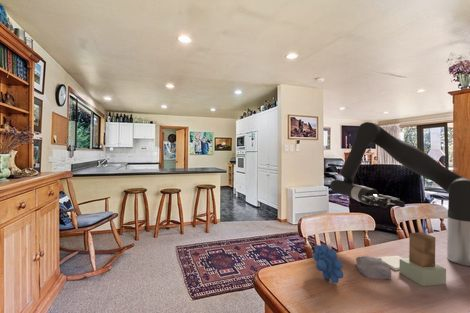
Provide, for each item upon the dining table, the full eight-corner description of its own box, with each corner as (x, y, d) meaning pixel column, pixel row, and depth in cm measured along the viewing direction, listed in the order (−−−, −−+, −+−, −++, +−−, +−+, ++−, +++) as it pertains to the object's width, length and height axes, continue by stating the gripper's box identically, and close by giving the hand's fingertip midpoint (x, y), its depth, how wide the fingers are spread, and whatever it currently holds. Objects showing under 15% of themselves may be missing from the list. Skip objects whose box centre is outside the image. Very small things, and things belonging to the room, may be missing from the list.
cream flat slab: (397, 257, 98) (397, 255, 98) (418, 268, 89) (418, 265, 89) (376, 259, 96) (376, 257, 96) (394, 270, 87) (394, 267, 87)
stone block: (363, 283, 82) (395, 280, 80) (360, 269, 83) (391, 266, 81) (354, 268, 94) (381, 265, 92) (351, 256, 94) (378, 253, 92)
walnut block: (421, 259, 85) (421, 232, 85) (435, 266, 80) (435, 237, 80) (409, 260, 84) (409, 233, 84) (422, 267, 79) (422, 238, 79)
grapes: (305, 275, 84) (305, 242, 83) (317, 270, 87) (317, 238, 87) (335, 292, 74) (335, 254, 74) (347, 285, 78) (347, 249, 77)
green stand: (420, 270, 87) (420, 257, 87) (445, 283, 78) (446, 268, 78) (399, 272, 86) (399, 258, 86) (422, 286, 77) (423, 271, 77)
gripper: (352, 186, 107) (381, 196, 91) (378, 186, 110) (411, 195, 94) (350, 202, 108) (379, 214, 92) (376, 202, 111) (408, 214, 95)
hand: (395, 205), depth 93 cm, fingers open, 8 cm apart
